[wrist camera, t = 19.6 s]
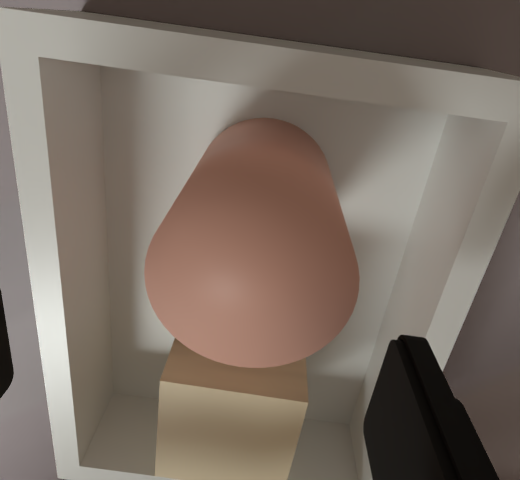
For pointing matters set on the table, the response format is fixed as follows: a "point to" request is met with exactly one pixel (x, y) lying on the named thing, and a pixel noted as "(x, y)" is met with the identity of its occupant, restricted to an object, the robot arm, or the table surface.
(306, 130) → the tote
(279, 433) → the cube
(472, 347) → the table surface
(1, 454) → the table surface
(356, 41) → the table surface
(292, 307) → the smooth tan pebble
